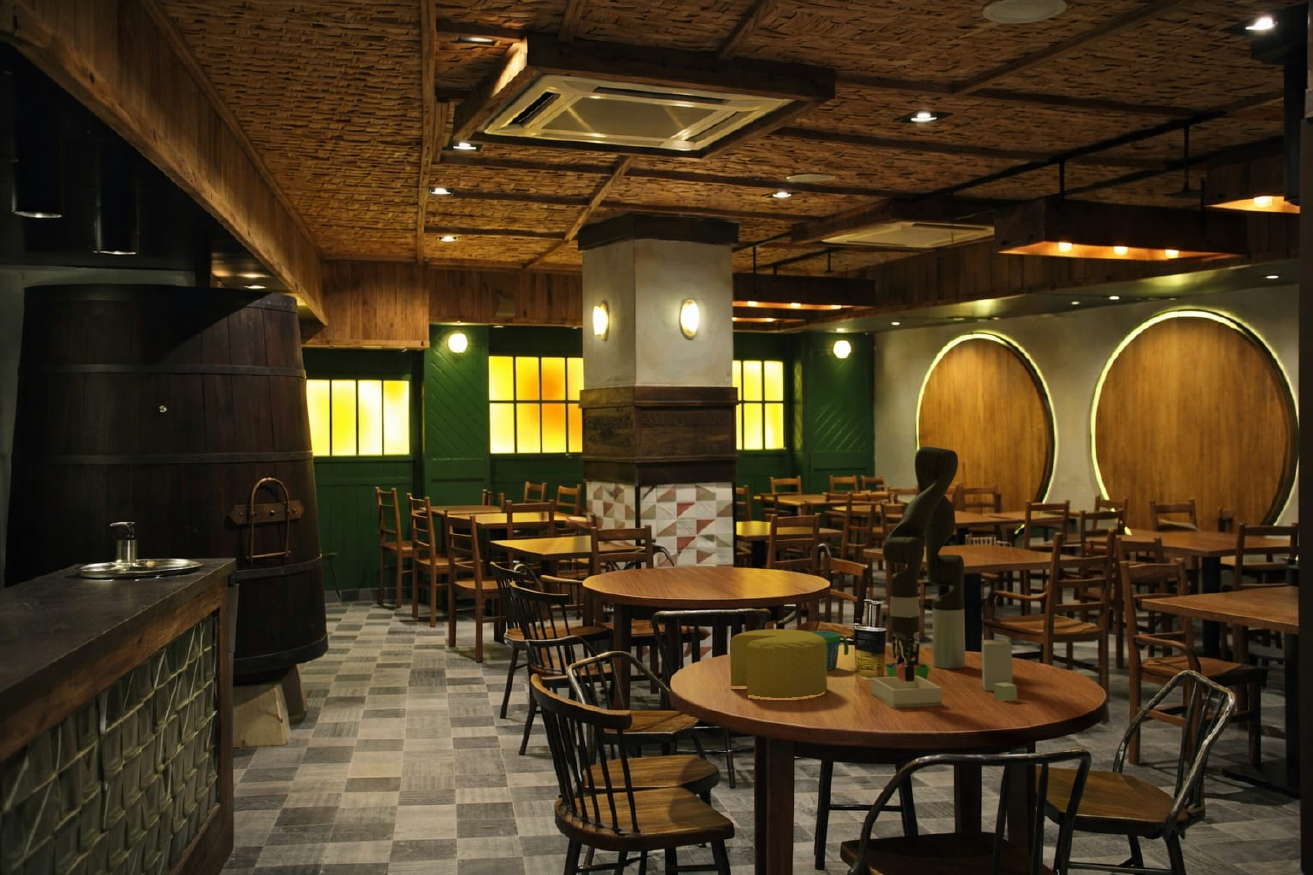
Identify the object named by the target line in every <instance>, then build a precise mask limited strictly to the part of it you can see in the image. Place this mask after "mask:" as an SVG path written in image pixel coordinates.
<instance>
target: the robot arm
mask: <svg viewBox="0 0 1313 875" xmlns="http://www.w3.org/2000/svg"><path fill="white" fill-rule="evenodd" d="M958 468H959V456H958V454H957V452H955V451H954V450H951V449H949V448H948V449H947V448H940V447H933V446H922V447H920V448H918V449H917V451H916V453H915V458H914V471H915V476H916V483H917V486H918V492H919V494H917V495H916V496H915V497H914V498H912V499H911V501H910V502H909V503H908V504H907V505H906V508H905V509H904V512H903V515H902V516H901V520H900V522H898V524H897V525H896V526H895V527H894V528H893V530H892V531H891V532H890V533H889V534H888V535H887V537H886V538H885V540H884V542H883V546H882V555H883V558H884V559H885V561H887V562H888V563H890V564H901V565H906V568H905V570H904V571H902V572H901V571H899V572H896V573H893V574H892V575H891V576H890V584H889V586H890V600H889V628H890V629H889V630H890V632H892V633H895V634H896V635H892V636H891V646H892V656H893V659H894V660H895V662H897V666H898V665H899V664H901V663H903V662H905V680H906V681H907V682H913V681H914V667H915V666H918V662H919V659H920V658H919V657H920V647H921V646H920V645H921V644H920V643H916V641H915V634H917V633H920V631H921V629H920V627H921V625H920V623H921V619H920V617H921V616H920V602H919V576H920V573H921V567H922V564H923V560H924V558H925V557H926V558H925V564H926V568H925V569H926V577H927V580H928V582H929V584H930V585H933V586H943V587H944V586H949V587H952V589H951V590H950V591H948V592H947V593H945V594H943V595H939V596H936V597H933V599H932V604H931V605H932V609H931V610H932V655H933V659H932V661H933V664H932V665H933V666H934V667H935V668H939V669H940V668H941V669H962V668H965V667H966V635H965V633H966V632H965V630H966V629H965V599H964V598H965V597H964V596H965V595H964V594H965V592H964V590H965V589H964V588H965V586H964V584H965V562H964V561H965V560H964V558H963V556H962V555H961V554H940V551H941V550H942V548H943V547H944V546H945V545H946V543H947V542H948V541H949V540H950V539H951V537H952V536H953V534H954V533H955V530H956V527H957V526H956V523H957V522H956V512H955V509H954V506H953V504H952V502H951V500H950V499H949V498H948V497H947V496H946V493H947V491H948V489H949V487H950V486H951V484H952V483H953V481H954V479H955V477H956V474H957V472H958ZM923 537H924V541H925V542H924V543H925V546H924V543H923V541H922V540H921V539H922V538H923ZM907 658H908V659H907ZM911 660H912V661H911Z"/></svg>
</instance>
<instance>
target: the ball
mask: <svg viewBox="0 0 1313 875" xmlns="http://www.w3.org/2000/svg"><path fill="white" fill-rule="evenodd" d="M915 674H916V671H915V668H914V677H915ZM896 675H897V677H898V678H899V679H900V680H901V681H904V682H907V681H906V680H905V662H903V663H901V664H899V665H898V666H897V669H896Z"/></svg>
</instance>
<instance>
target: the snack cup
mask: <svg viewBox="0 0 1313 875" xmlns="http://www.w3.org/2000/svg"><path fill="white" fill-rule="evenodd" d="M811 632H812V633H815V634H817V635H820V636H822V637H823V638H824V639H825V640H826V659H827V669H829V668H834V669H836V667H837V665H838V659H839V658H838V656H839V648H840V647H839V646H840V642H841V640H843V654H844V656H848V655H849V651H850V650H849V643H848V640H847V638H846V637H845V636H843V635H841V633H839V632H837V631H836V632H835V631H811ZM829 670H830V669H829Z"/></svg>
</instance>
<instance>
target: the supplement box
mask: <svg viewBox="0 0 1313 875" xmlns="http://www.w3.org/2000/svg"><path fill="white" fill-rule="evenodd" d="M1012 646H1013V645H1012V643H1011V641H1010V640H1007V639H1003V640H1002V639H982V640H981V665H982V666H981V670H982V671H981V673H982V674H981V675H982V682H981V683H982V688H983V689H984V691H985V692H986V691H989V692H994V684H997V683H1005V682H1007V683H1010V684H1013V651H1012V650H1013V647H1012Z"/></svg>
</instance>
